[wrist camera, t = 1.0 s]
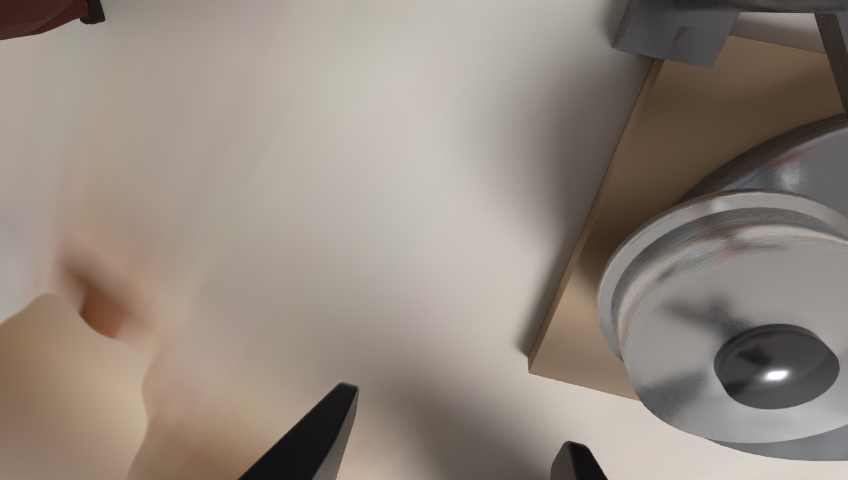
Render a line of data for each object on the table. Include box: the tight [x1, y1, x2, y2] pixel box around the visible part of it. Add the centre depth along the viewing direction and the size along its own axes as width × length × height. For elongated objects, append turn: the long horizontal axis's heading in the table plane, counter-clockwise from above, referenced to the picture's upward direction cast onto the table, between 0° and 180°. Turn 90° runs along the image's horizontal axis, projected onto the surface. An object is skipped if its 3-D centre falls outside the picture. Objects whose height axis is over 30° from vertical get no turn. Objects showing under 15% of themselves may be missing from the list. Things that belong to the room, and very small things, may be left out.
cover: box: [596, 188, 848, 443], centre depth 13 cm, size 8×8×4 cm
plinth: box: [528, 26, 845, 401], centre depth 17 cm, size 16×19×1 cm
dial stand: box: [612, 0, 848, 121], centre depth 10 cm, size 5×5×9 cm
